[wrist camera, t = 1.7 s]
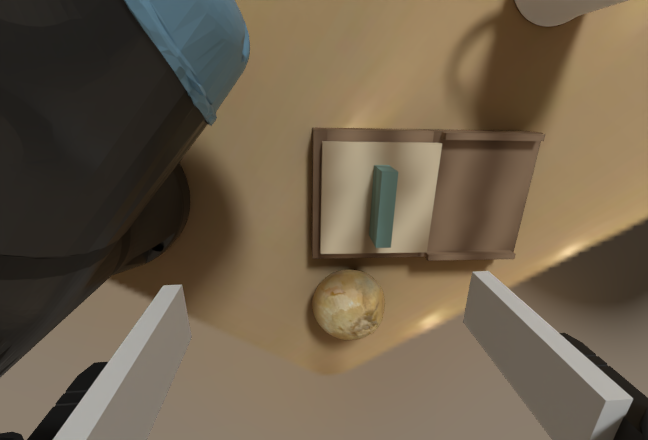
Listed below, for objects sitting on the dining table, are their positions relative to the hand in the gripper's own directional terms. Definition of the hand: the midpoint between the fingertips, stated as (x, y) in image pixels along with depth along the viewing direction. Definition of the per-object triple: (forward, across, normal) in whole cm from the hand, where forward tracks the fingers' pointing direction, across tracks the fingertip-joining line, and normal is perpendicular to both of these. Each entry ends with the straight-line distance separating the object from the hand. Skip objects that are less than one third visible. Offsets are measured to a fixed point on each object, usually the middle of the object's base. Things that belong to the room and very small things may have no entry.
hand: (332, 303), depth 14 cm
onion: (+21, +4, -13) cm, 24 cm away
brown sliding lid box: (+20, +11, -1) cm, 23 cm away
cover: (+18, +6, -1) cm, 19 cm away
